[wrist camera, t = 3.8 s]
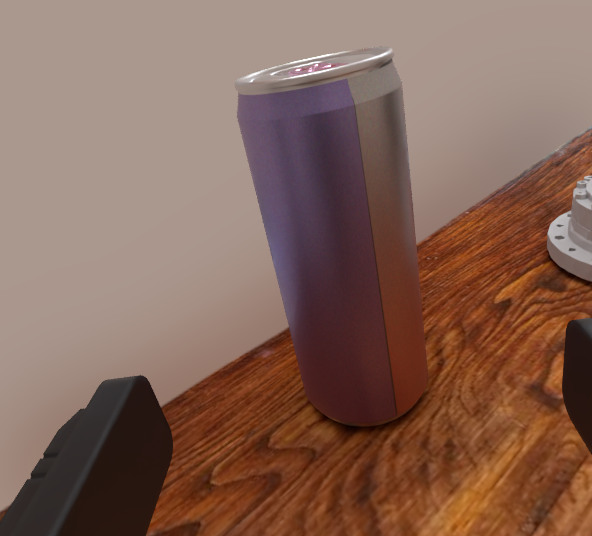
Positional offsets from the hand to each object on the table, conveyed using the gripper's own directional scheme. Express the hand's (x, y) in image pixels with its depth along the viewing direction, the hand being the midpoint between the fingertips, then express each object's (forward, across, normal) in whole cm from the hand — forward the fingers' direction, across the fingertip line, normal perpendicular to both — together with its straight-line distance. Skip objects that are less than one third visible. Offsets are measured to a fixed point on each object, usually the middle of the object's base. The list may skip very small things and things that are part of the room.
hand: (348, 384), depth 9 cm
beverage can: (+11, 0, +10) cm, 15 cm away
